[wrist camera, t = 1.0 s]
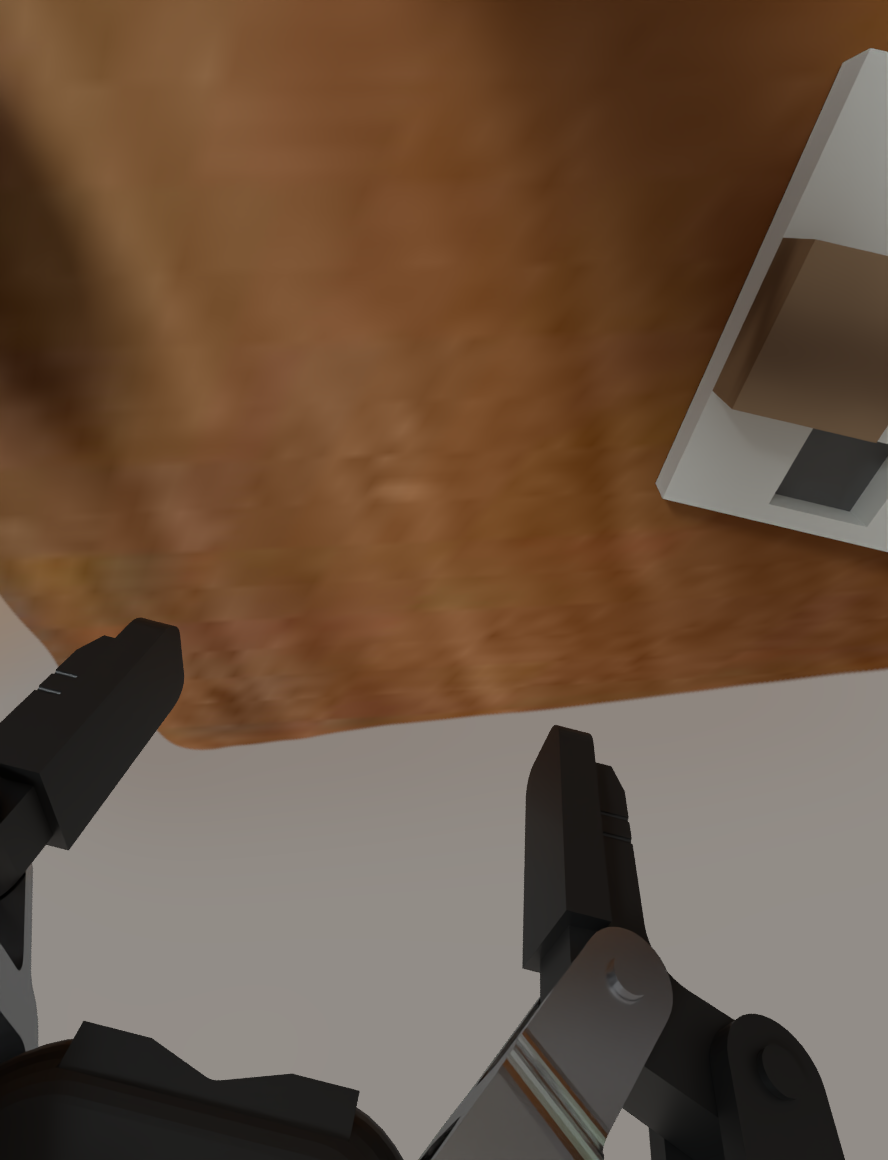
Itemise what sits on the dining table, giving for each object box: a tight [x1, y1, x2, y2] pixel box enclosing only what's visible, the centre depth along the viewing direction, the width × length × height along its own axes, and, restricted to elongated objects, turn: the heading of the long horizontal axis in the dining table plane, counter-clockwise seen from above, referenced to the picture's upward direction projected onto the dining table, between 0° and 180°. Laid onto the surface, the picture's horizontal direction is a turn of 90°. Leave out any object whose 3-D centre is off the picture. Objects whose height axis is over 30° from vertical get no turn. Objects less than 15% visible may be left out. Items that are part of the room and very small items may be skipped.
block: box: [712, 238, 888, 443], centre depth 22 cm, size 6×6×3 cm
